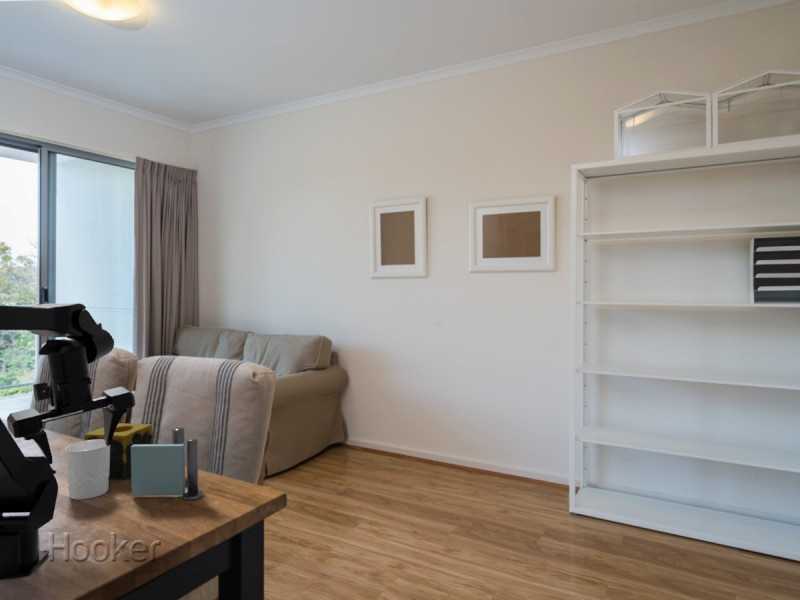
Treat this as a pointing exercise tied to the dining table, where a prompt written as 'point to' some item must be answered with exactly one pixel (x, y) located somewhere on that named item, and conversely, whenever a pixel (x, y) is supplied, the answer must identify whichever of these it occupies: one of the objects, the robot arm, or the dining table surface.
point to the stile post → (178, 437)
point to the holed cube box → (123, 446)
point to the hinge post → (192, 472)
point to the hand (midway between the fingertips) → (80, 453)
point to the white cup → (87, 468)
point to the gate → (158, 469)
